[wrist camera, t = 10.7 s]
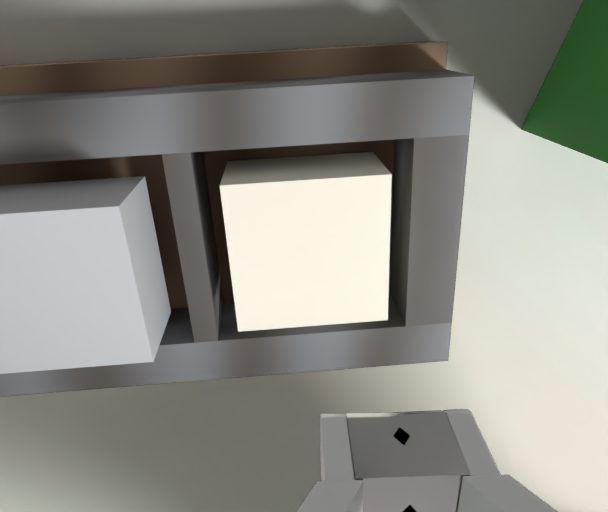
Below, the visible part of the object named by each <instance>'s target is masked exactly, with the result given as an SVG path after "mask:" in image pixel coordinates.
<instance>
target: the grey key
mask: <svg viewBox="0 0 608 512" xmlns="http://www.w3.org/2000/svg"><path fill="white" fill-rule="evenodd" d="M170 314H171V309H170V303H169V298H168V293H167V288H166V283H165V277H164V272H163V267H162V262H161V257H160V252H159V246H158V241H157V236H156V231H155V226H154V220H153V215H152V210H151V205H150V200H149V194H148V189H147V184H146V179H145V176H140V177H124V178H109V179H93V180H78V181H63V182H47V183H32V184H17V185H1V186H0V374H6V373H19V372H31V371H44V370H57V369H69V368H82V367H95V366H107V365H120V364H133V363H146V362H154V359H155V356H156V353H157V350H158V347H159V345H160V342H161V339H162V336H163V333H164V331H165V328H166V325H167V322H168V319H169V316H170Z"/></svg>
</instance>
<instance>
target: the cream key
mask: <svg viewBox="0 0 608 512" xmlns="http://www.w3.org/2000/svg"><path fill="white" fill-rule="evenodd" d="M391 186H392V174H391V173H390V172H389V170H388V169H387V168H386V167H385V166H384V164H383V163H382V162H381V161H380V160H379V159H378V157H377V156H376V155H375V154H374V153H373V152H361V153H346V154H330V155H315V156H299V157H284V158H268V159H252V160H237V161H227V165H226V168H225V171H224V174H223V177H222V180H221V183H220V193H221V201H222V209H223V217H224V225H225V232H226V240H227V248H228V256H229V264H230V272H231V280H232V287H233V295H234V303H235V311H236V319H237V327H238V332H241V331H254V330H267V329H280V328H293V327H306V326H319V325H332V324H345V323H358V322H371V321H384V320H388V297H389V260H390V223H391Z"/></svg>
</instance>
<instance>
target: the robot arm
mask: <svg viewBox="0 0 608 512" xmlns="http://www.w3.org/2000/svg"><path fill="white" fill-rule="evenodd" d="M320 448H321V481H317V482H316V483H315V485H314V486H313V488H312V489H311V491H310V492H309V494H308V495H307V497H306V498H305V500H304V501H303V503H302V504H301V506H300V507H299V509H298V510H297V512H558V511H556V510H555V509H554V508H552V507H551V506H550V505H548V504H547V503H546V502H544V501H543V500H542V499H540V498H539V497H538V496H536V495H535V494H534V493H532V492H531V491H530V490H528V489H527V488H526V487H525V486H523V485H522V484H521V483H519V482H518V481H517V480H515V479H514V478H513V477H511V476H510V475H501V474H500V472H499V469H498V467H497V465H496V463H495V461H494V459H493V457H492V455H491V452H490V450H489V448H488V446H487V444H486V442H485V440H484V438H483V436H482V433H481V431H480V429H479V427H478V425H477V423H476V421H475V419H474V417H473V414H472V412H471V411H469V410H468V409H454V410H443V411H441V410H439V411H415V412H393V413H346V414H320Z"/></svg>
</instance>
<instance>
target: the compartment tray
mask: <svg viewBox="0 0 608 512" xmlns="http://www.w3.org/2000/svg"><path fill="white" fill-rule="evenodd" d="M447 47H448V42H435V41H429V42H411V43H394V44H376V45H358V46H340V47H323V48H305V49H287V50H269V51H252V52H234V53H216V54H198V55H181V56H163V57H145V58H127V59H110V60H92V61H74V62H56V63H39V64H21V65H3V66H0V186H1V185H17V184H32V183H47V182H63V181H78V180H93V179H109V178H124V177H140V176H145V179H146V184H147V189H148V194H149V200H150V205H151V210H152V215H153V220H154V226H155V231H156V236H157V241H158V246H159V252H160V257H161V262H162V267H163V272H164V277H165V283H166V288H167V293H168V298H169V303H170V309H171V314H170V316H169V319H168V322H167V325H166V328H165V331H164V333H163V336H162V339H161V342H160V345H159V347H158V350H157V353H156V356H155V359H154V362H146V363H133V364H120V365H107V366H95V367H82V368H69V369H57V370H44V371H31V372H19V373H6V374H0V397H3V396H15V395H28V394H40V393H53V392H65V391H77V390H90V389H102V388H115V387H127V386H140V385H152V384H165V383H177V382H189V381H202V380H214V379H227V378H239V377H252V376H264V375H276V374H289V373H301V372H314V371H326V370H339V369H351V368H364V367H376V366H388V365H401V364H413V363H426V362H438V361H448V357H449V346H450V335H451V324H452V314H453V303H454V292H455V281H456V271H457V260H458V249H459V238H460V227H461V217H462V206H463V195H464V184H465V173H466V163H467V152H468V141H469V130H470V119H471V109H472V98H473V87H474V76H473V75H468V74H464V73H459V72H455V71H450V70H446V61H447ZM361 152H373V153H374V154H375V155H376V156H377V157H378V159H379V160H380V161H381V162H382V163H383V164H384V166H385V167H386V168H387V169H388V170H389V172H390V173H391V174H392V186H391V223H390V260H389V297H388V320H384V321H371V322H358V323H345V324H332V325H319V326H306V327H293V328H280V329H267V330H254V331H241V332H238V327H237V319H236V311H235V303H234V295H233V287H232V280H231V272H230V264H229V256H228V248H227V240H226V232H225V225H224V217H223V209H222V201H221V193H220V183H221V180H222V177H223V174H224V171H225V168H226V165H227V161H237V160H252V159H268V158H284V157H299V156H315V155H330V154H346V153H361Z"/></svg>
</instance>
